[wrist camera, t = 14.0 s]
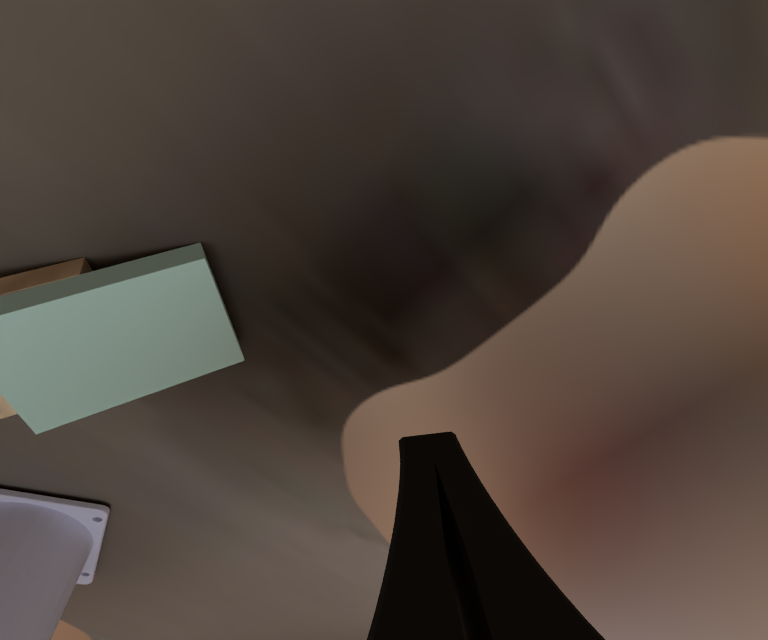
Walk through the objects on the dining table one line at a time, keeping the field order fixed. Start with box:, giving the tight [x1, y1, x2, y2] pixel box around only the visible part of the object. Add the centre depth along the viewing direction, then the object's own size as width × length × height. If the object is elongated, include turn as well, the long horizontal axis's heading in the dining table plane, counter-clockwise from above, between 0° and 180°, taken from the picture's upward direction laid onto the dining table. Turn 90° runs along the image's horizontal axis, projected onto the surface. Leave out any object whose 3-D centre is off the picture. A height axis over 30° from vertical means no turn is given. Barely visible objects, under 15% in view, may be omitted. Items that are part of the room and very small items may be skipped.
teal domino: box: [0, 242, 245, 434], centre depth 17 cm, size 2×5×8 cm
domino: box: [0, 257, 92, 419], centre depth 17 cm, size 2×5×8 cm
